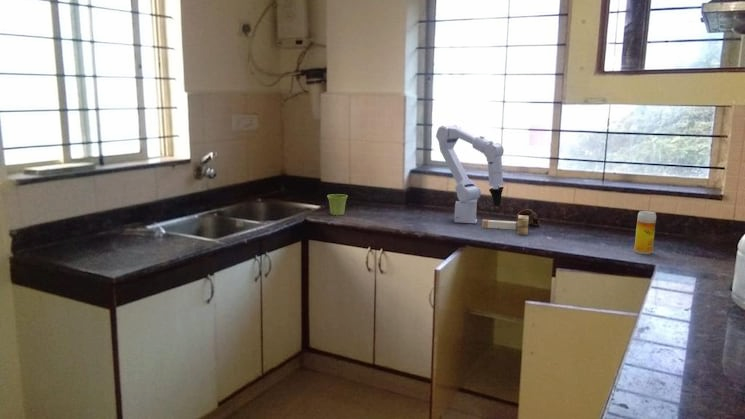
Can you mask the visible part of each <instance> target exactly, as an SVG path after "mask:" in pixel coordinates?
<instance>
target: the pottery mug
mask: <svg viewBox="0 0 745 419" xmlns="http://www.w3.org/2000/svg"><path fill="white" fill-rule="evenodd" d="M518 215H525V216H528V218H529V220H528V224H530V225H537V226H538V227H539V228H540V227H541V226H540V221H539V220H540V219H539V217H538V214H537V213H536V212H534V211H533V210H532V209H530V208H528V209H527V208H526V209H522V210H520V211H519V212H518V213H517V214H516V221H515V222H518Z"/></svg>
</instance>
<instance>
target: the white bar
mask: <svg viewBox="0 0 745 419" xmlns="http://www.w3.org/2000/svg"><path fill="white" fill-rule="evenodd" d="M481 227H482V228H484V229H485V228H487V229H498V228H499V230H501V229H502V230H514V231H515V230H516V231H517V229H518V222H516V221H510V220H494V219H493V220H490V219H482V224H481Z"/></svg>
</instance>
